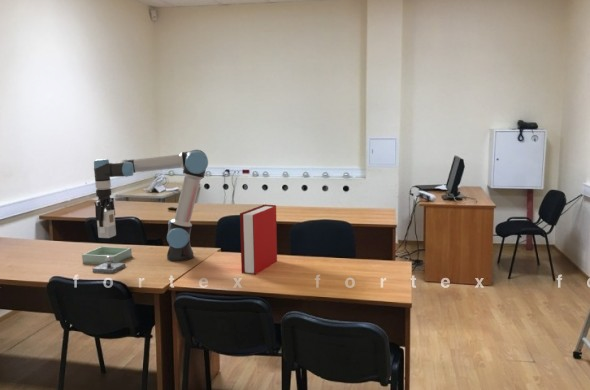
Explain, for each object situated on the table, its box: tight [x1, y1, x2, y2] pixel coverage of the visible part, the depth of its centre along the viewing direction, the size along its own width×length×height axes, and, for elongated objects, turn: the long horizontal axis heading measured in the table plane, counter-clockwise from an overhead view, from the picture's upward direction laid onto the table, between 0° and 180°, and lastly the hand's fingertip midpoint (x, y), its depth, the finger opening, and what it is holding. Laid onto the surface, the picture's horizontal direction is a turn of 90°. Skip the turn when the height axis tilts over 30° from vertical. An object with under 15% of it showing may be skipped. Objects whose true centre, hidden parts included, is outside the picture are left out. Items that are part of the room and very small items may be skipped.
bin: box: [81, 245, 133, 265], centre depth 288 cm, size 20×18×5 cm
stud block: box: [92, 256, 126, 274], centre depth 270 cm, size 12×12×7 cm
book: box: [239, 204, 278, 276], centre depth 269 cm, size 27×8×32 cm, turn 156°
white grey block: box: [96, 209, 117, 239], centre depth 266 cm, size 6×7×14 cm
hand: (106, 230), depth 267 cm, fingers closed on white grey block, 6 cm apart
